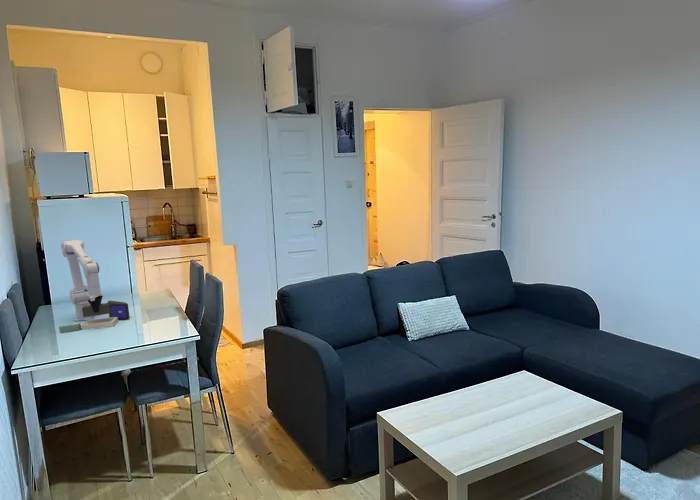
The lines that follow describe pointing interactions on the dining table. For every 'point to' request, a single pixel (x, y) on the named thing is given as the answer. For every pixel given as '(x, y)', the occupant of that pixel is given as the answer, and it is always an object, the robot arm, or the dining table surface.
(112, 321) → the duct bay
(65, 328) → the sage green post
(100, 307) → the dark brown rectangular block
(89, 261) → the robot arm
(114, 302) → the leaning round-cornered charcoal block
